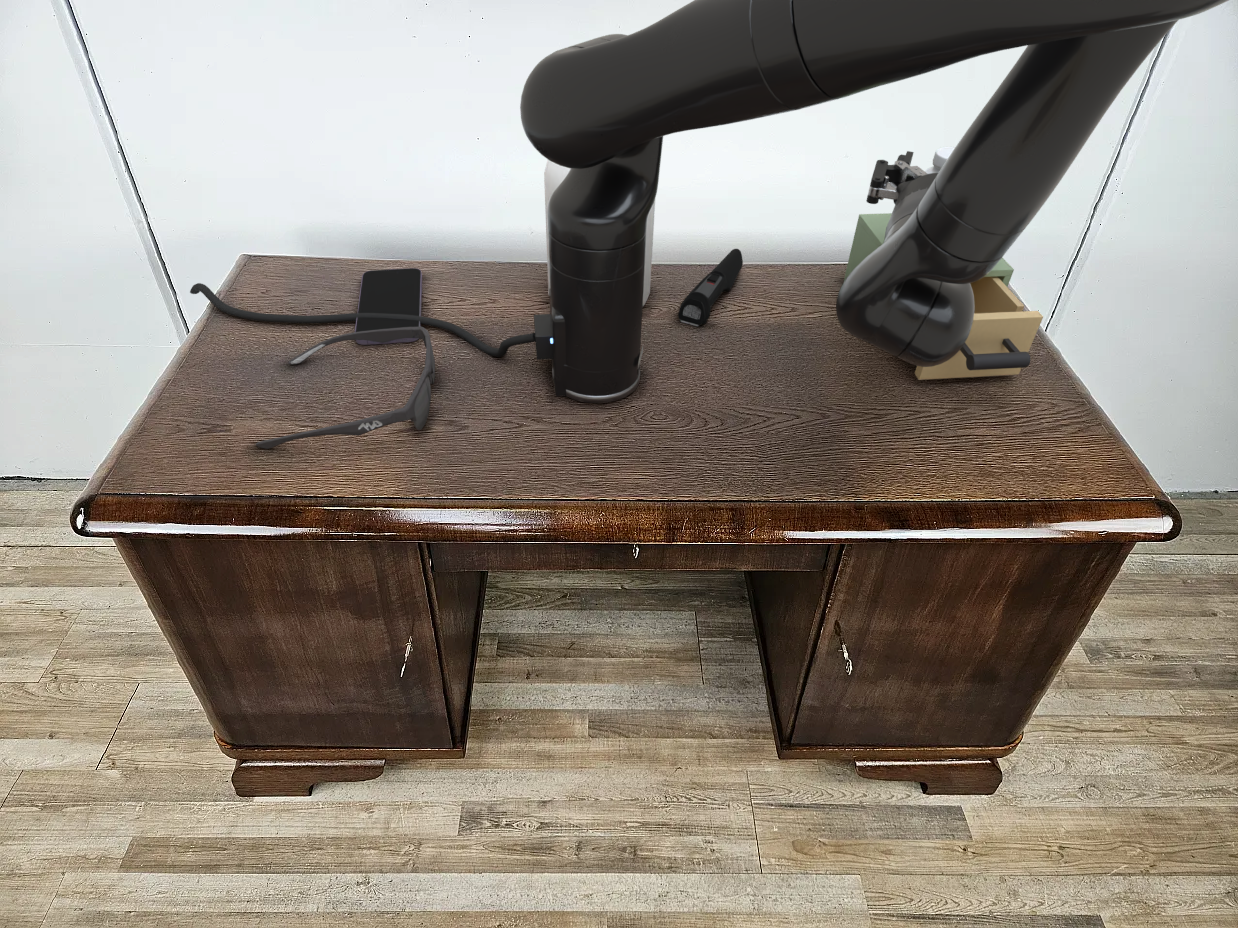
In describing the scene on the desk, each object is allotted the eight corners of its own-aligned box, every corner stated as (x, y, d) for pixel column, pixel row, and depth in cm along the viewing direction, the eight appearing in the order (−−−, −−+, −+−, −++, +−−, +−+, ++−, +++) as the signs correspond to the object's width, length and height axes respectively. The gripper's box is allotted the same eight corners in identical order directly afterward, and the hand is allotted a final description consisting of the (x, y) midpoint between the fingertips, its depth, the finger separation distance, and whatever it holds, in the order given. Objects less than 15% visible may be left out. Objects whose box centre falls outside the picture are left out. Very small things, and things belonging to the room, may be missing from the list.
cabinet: (987, 339, 96) (1014, 269, 90) (884, 344, 94) (904, 273, 88) (936, 277, 107) (957, 211, 100) (843, 281, 105) (859, 214, 99)
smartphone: (353, 340, 91) (362, 270, 102) (354, 348, 92) (363, 278, 103) (419, 336, 92) (422, 267, 103) (421, 344, 93) (423, 275, 104)
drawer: (1038, 398, 86) (1065, 339, 81) (934, 404, 85) (955, 345, 80) (965, 309, 99) (984, 254, 94) (874, 313, 98) (889, 257, 93)
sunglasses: (433, 451, 79) (419, 410, 75) (260, 471, 79) (239, 431, 75) (447, 353, 91) (437, 314, 87) (298, 370, 91) (281, 332, 88)
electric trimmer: (749, 273, 107) (752, 250, 105) (704, 328, 96) (706, 304, 94) (721, 266, 108) (724, 244, 106) (674, 320, 97) (676, 296, 95)
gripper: (1022, 204, 74) (1029, 143, 85) (863, 176, 77) (890, 121, 89) (994, 279, 79) (1004, 212, 90) (846, 249, 82) (874, 188, 94)
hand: (947, 167), depth 89 cm, fingers open, 8 cm apart
